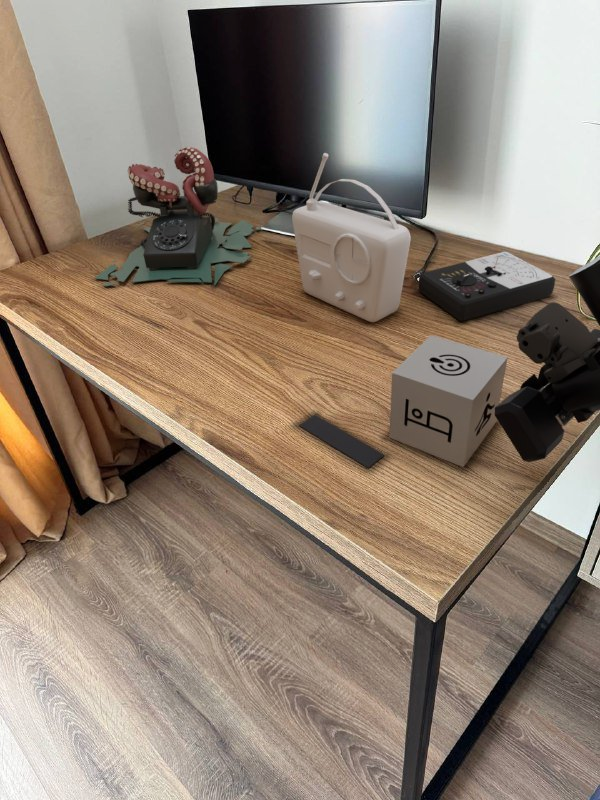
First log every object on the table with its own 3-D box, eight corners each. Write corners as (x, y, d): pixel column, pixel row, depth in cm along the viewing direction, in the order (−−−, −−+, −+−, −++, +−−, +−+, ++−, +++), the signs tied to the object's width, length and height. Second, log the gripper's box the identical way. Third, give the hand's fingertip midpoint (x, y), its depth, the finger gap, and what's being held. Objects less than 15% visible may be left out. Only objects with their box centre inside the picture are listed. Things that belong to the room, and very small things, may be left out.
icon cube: (389, 437, 75) (391, 372, 69) (425, 397, 81) (431, 334, 75) (463, 467, 70) (473, 400, 63) (496, 422, 76) (507, 357, 70)
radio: (288, 292, 109) (277, 151, 94) (321, 277, 113) (315, 140, 98) (376, 333, 95) (379, 175, 80) (409, 315, 99) (418, 161, 84)
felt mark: (384, 456, 72) (384, 454, 72) (368, 468, 70) (368, 467, 70) (315, 415, 79) (314, 414, 79) (299, 426, 78) (299, 425, 77)
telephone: (137, 224, 143) (117, 136, 131) (265, 220, 140) (256, 129, 128) (86, 289, 115) (55, 185, 103) (244, 285, 112) (231, 178, 100)
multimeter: (416, 292, 106) (418, 266, 103) (503, 268, 111) (507, 243, 108) (460, 323, 96) (463, 296, 93) (553, 296, 101) (559, 269, 98)
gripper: (627, 259, 58) (509, 320, 71) (532, 332, 48) (415, 388, 62) (686, 354, 58) (557, 398, 71) (603, 447, 48) (471, 478, 62)
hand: (503, 412), depth 67 cm, fingers closed
